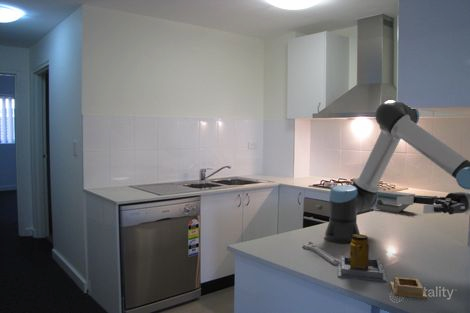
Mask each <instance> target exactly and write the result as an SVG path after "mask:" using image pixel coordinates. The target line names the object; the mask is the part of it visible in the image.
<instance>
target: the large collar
mask: <svg viewBox="0 0 470 313" xmlns="http://www.w3.org/2000/svg"><path fill="white" fill-rule="evenodd" d="M338 260H339V261H340V263H339V265H338V267H337V268H338V273H337V274H338V278H342V279H352V280H360V281H361V280H362V281H363V280H364V281H371V282H372V281H374V282H382V283H387V280H388V279H387V277H386V275H385V274H386V273H385V269H384V267H383V263H381V260H380V258H369V261H368V266H371V267H373V268H374V270H375V271H371V270H360V269H350V268H349V267H348V265H350V256H347V255H346V256H344V255H341V260H340V259H338Z"/></svg>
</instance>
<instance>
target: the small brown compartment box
mask: <svg viewBox="0 0 470 313" xmlns="http://www.w3.org/2000/svg"><path fill="white" fill-rule="evenodd" d="M389 284H390V287H392V288H391V290H393V291H392V293H393V294H392V295H393V296H399V297H409V298H415V299H417V298H418V299H426V300H427V299H428V296H427V293H426V291H425V290H424V287H423V285H422V283H421V281H420V280H419V278H411V277H402V276H401V277H400V276H393V280H392V281H390V282H389Z"/></svg>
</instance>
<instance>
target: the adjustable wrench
mask: <svg viewBox="0 0 470 313" xmlns="http://www.w3.org/2000/svg"><path fill="white" fill-rule="evenodd" d="M303 249H305V250H309V251H310V250H311V251H313V252H315V253H317V254H318V255H319V256H321V257H322V256H323V257H324V258H323V257H322V258H323V259H325V260H326V259H327V260H326V261H327V262H329V261H330V262H331V263H330V262H329V263H330V264H332V263H333V264H334V266H339V263H340V261H339V260H340V259H337V258H335V257H333V256H332V255H331V254H330V253H328V252H326V251H325V250H323V249H322V248H320V247H319V243H318V242H315V241H308V243H306V242H303ZM333 264H332V265H333Z"/></svg>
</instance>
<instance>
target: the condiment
mask: <svg viewBox="0 0 470 313" xmlns="http://www.w3.org/2000/svg"><path fill="white" fill-rule="evenodd" d="M349 248H350V251H349V252H350V255H349V257H350V265H348V267H349V268H350V269H360V270H371V271H375V270H374V268H373V267H371V266H368V261H369V255H370V253H369V252H370V244H369V237H368V236H367V235H366V234H362V233H360V234H354V235H352V242H351V243H350V247H349Z"/></svg>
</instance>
